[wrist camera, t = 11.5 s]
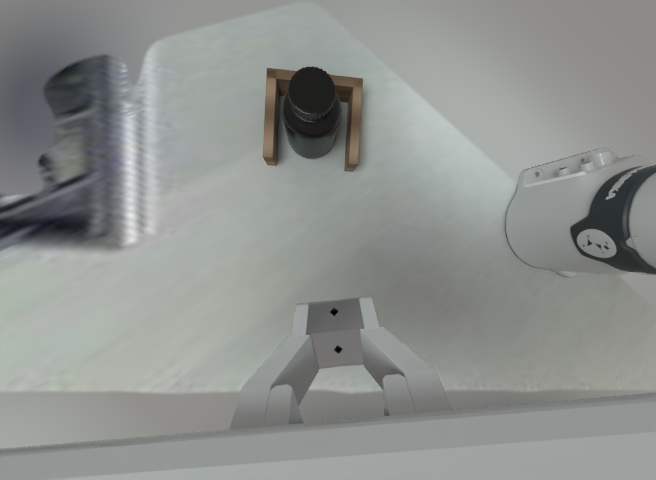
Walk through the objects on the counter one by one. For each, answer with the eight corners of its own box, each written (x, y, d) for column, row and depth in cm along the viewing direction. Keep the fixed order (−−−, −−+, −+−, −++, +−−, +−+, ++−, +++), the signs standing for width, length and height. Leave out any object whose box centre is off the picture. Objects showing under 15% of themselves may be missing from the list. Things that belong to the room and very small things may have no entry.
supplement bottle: (313, 102, 36) (316, 39, 24) (343, 139, 37) (361, 95, 25) (277, 132, 36) (263, 84, 24) (308, 169, 37) (310, 140, 25)
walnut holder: (352, 171, 37) (357, 164, 33) (267, 164, 36) (262, 156, 32) (356, 95, 37) (362, 78, 33) (271, 86, 36) (267, 67, 32)
